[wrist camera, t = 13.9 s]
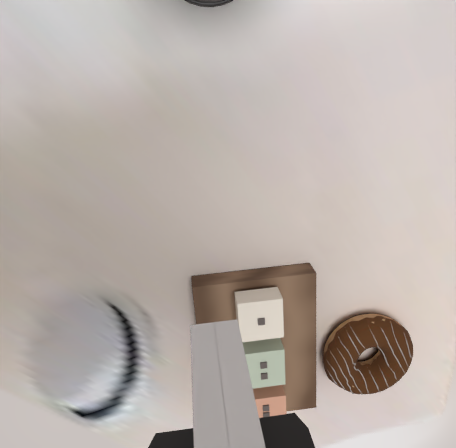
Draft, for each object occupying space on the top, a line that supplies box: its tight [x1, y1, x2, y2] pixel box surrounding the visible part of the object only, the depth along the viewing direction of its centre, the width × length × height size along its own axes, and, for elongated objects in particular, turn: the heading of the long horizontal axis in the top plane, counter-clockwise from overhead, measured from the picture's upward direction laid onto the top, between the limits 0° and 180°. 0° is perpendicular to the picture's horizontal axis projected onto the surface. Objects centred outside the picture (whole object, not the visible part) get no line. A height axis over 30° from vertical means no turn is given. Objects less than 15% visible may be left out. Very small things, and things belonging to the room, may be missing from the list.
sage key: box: [242, 338, 285, 389], centre depth 45 cm, size 4×4×3 cm
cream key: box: [234, 287, 284, 342], centre depth 42 cm, size 4×4×3 cm
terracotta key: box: [253, 385, 286, 418], centre depth 47 cm, size 4×4×3 cm
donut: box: [323, 314, 413, 394], centre depth 49 cm, size 11×11×4 cm
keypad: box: [192, 263, 316, 411], centre depth 47 cm, size 13×18×4 cm
